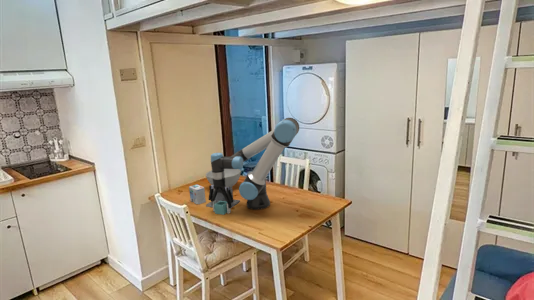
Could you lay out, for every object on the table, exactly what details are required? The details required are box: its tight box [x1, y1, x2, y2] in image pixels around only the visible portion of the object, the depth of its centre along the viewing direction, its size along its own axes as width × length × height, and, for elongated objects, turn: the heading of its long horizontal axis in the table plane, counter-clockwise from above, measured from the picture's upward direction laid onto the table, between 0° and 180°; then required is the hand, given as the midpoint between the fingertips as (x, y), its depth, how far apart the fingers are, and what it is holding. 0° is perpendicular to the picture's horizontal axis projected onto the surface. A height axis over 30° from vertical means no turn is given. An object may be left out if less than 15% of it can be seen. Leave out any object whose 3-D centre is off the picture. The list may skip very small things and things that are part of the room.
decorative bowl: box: [205, 169, 242, 188], centre depth 256 cm, size 27×27×12 cm
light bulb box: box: [188, 184, 207, 205], centre depth 230 cm, size 11×7×11 cm, turn 40°
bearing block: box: [205, 186, 241, 209], centre depth 222 cm, size 18×14×11 cm
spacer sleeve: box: [214, 201, 228, 216], centre depth 209 cm, size 6×6×6 cm
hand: (222, 211), depth 209 cm, fingers open, 10 cm apart
